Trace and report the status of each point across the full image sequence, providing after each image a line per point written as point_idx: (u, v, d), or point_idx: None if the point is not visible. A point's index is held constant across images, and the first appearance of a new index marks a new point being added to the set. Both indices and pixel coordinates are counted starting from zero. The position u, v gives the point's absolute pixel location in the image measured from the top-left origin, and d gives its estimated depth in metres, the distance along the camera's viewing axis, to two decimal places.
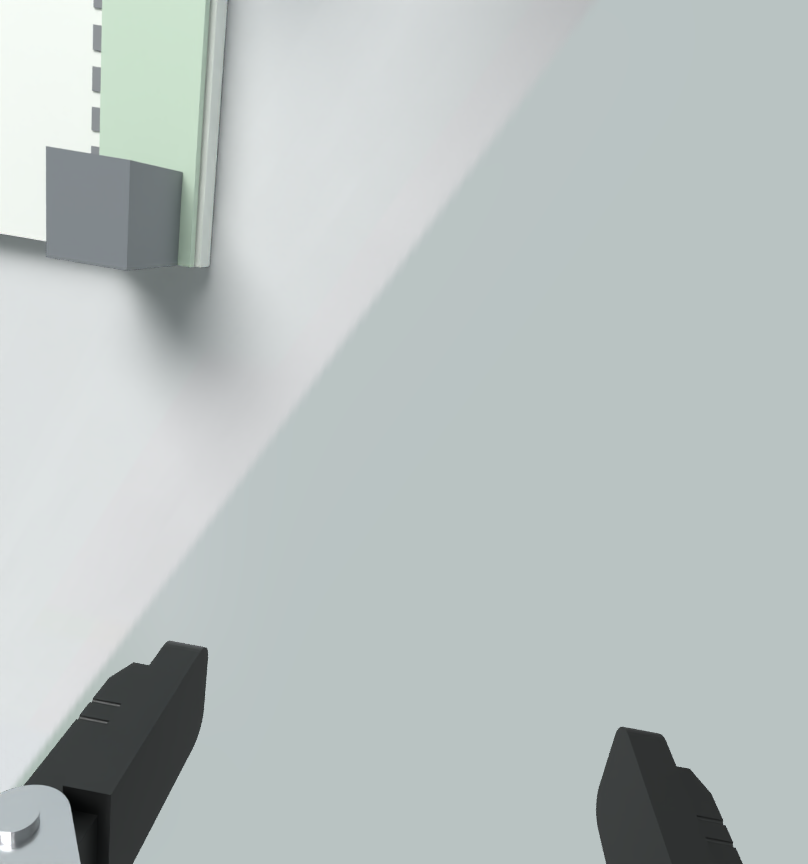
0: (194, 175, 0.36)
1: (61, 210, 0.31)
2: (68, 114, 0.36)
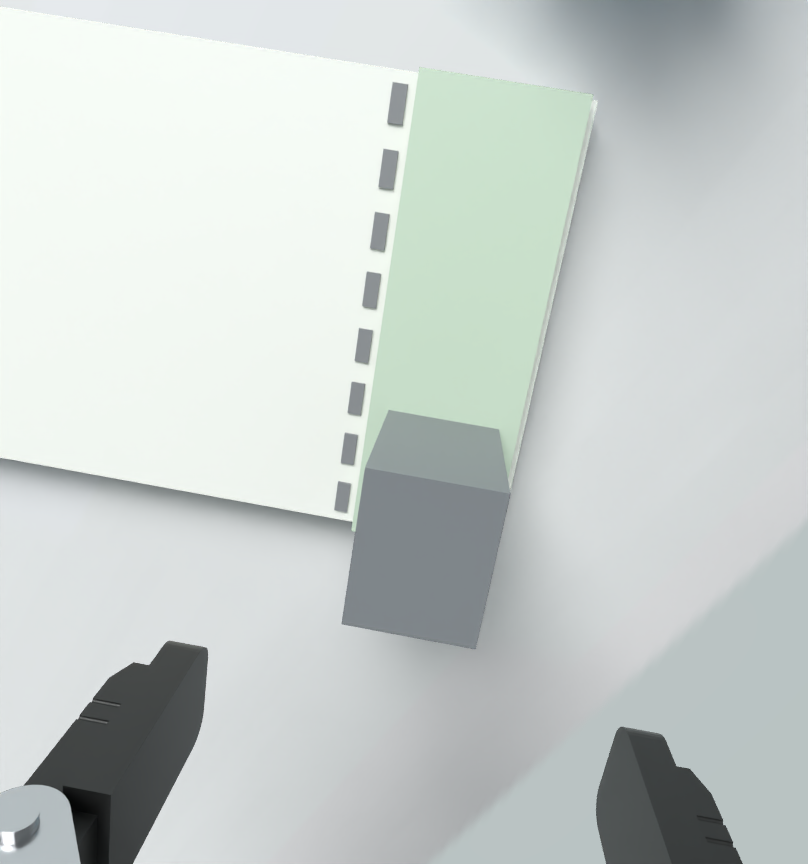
0: (516, 434, 0.23)
1: (377, 561, 0.19)
2: (319, 337, 0.24)
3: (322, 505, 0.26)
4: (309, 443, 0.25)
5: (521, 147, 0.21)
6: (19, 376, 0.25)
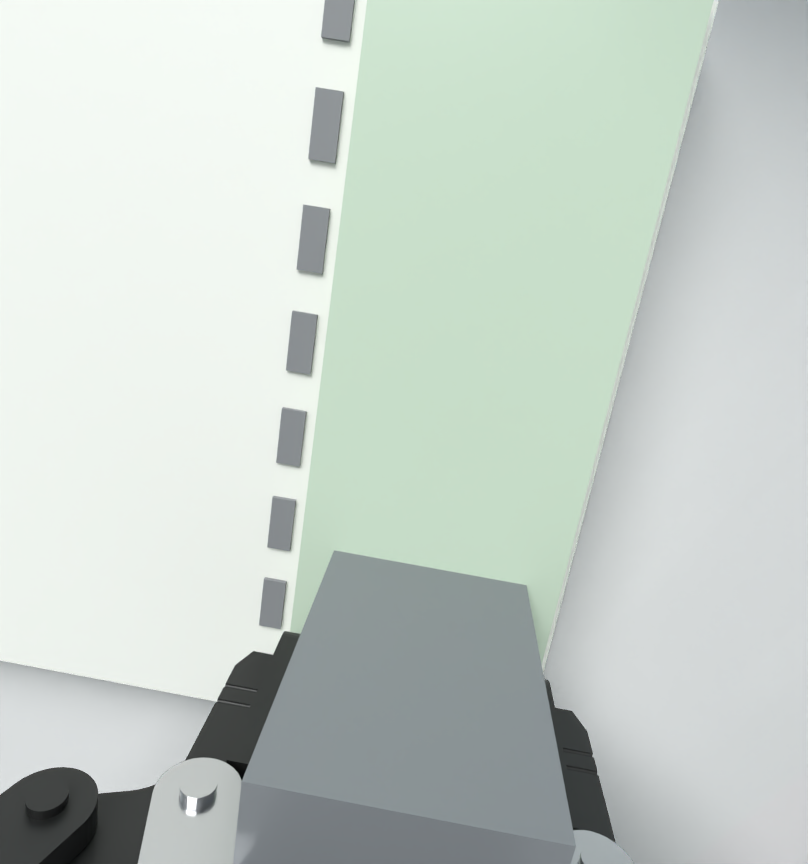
0: (558, 593, 0.13)
1: None
2: (214, 423, 0.14)
3: None
4: (206, 593, 0.15)
5: (576, 78, 0.11)
6: None
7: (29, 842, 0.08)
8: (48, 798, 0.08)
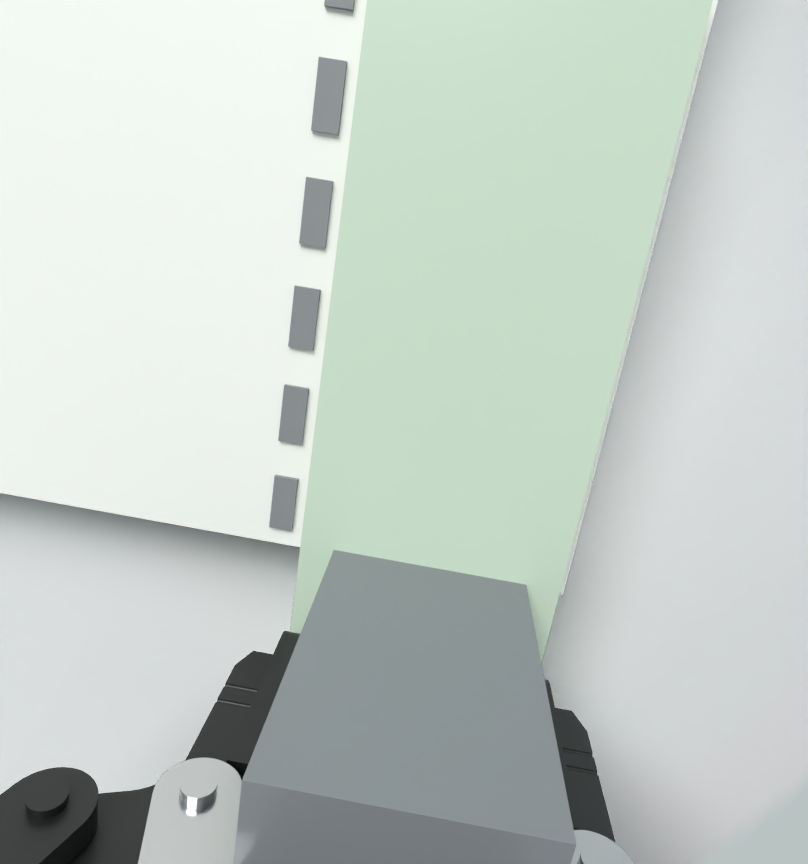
0: (557, 593, 0.13)
1: None
2: (231, 199, 0.12)
3: (248, 518, 0.14)
4: (221, 405, 0.14)
5: (575, 78, 0.11)
6: None
7: (29, 842, 0.08)
8: (48, 798, 0.08)
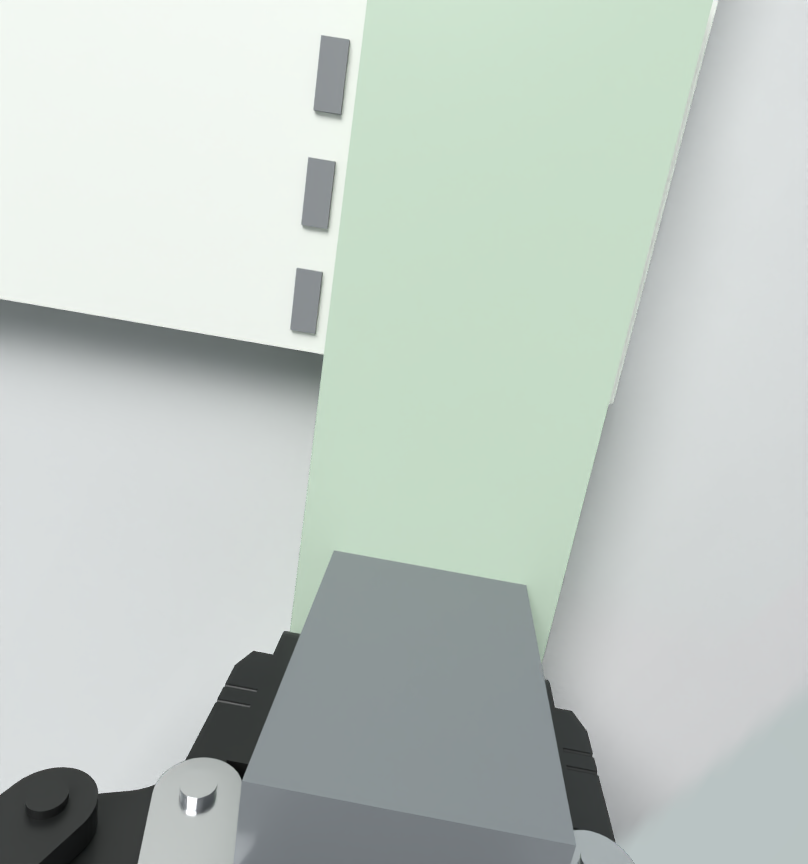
0: (557, 593, 0.13)
1: None
2: None
3: (267, 321, 0.13)
4: (238, 185, 0.12)
5: (575, 79, 0.11)
6: None
7: (29, 842, 0.08)
8: (48, 799, 0.08)
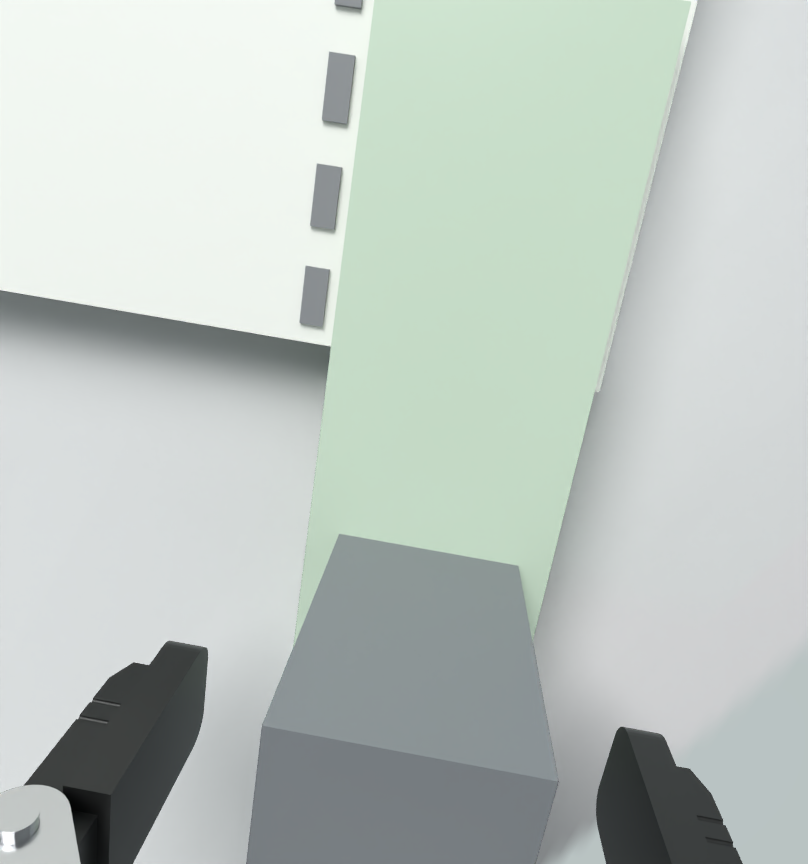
0: (547, 573, 0.14)
1: None
2: None
3: (278, 315, 0.14)
4: (251, 189, 0.13)
5: (560, 99, 0.12)
6: None
7: None
8: None
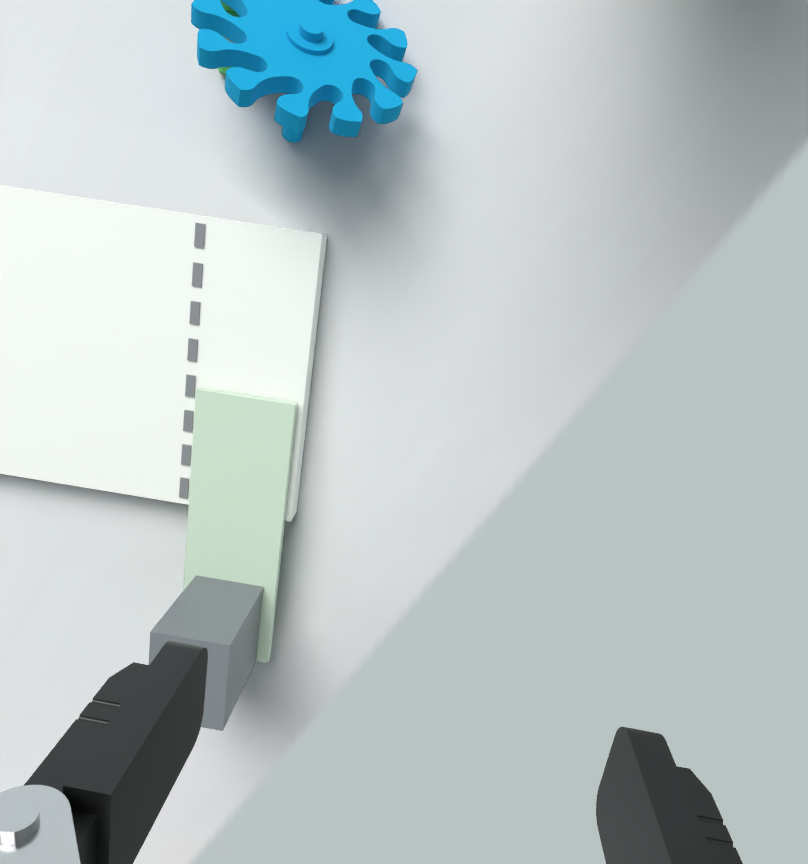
0: (274, 589, 0.38)
1: None
2: (161, 381, 0.36)
3: (171, 494, 0.38)
4: (159, 451, 0.37)
5: (258, 431, 0.36)
6: None
7: None
8: None
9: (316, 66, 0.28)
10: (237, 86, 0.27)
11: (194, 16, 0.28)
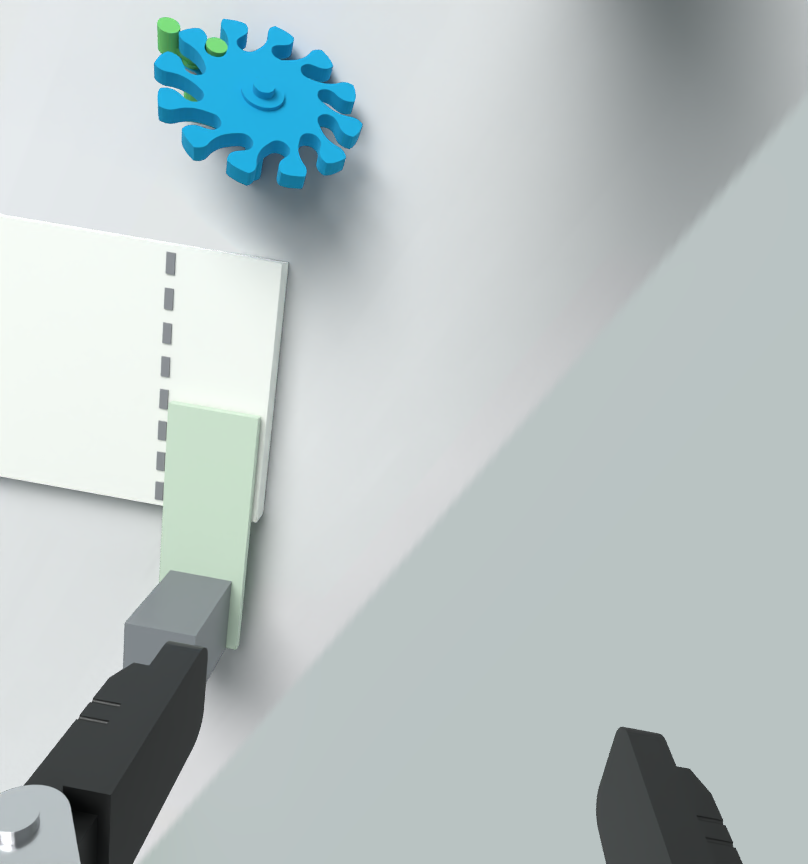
0: (241, 584, 0.42)
1: None
2: (137, 394, 0.40)
3: (147, 496, 0.41)
4: (136, 457, 0.41)
5: (225, 442, 0.39)
6: None
7: None
8: None
9: (267, 122, 0.31)
10: (191, 144, 0.30)
11: (156, 73, 0.31)
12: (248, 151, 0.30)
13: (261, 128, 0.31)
